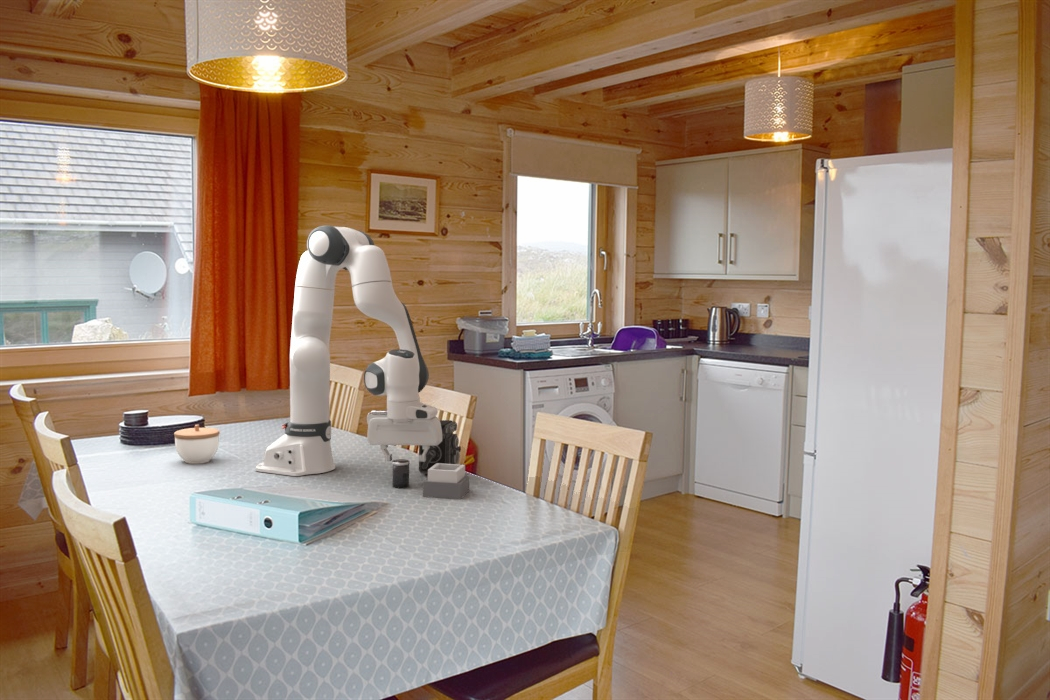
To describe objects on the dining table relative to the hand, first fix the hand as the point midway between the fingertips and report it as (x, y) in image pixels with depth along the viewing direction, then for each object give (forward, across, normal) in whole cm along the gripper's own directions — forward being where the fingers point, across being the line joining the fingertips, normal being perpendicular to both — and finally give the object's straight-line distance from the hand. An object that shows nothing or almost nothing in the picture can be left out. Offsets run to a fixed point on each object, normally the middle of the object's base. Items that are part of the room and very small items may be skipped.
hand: (405, 461), depth 216 cm
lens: (+7, -1, -1) cm, 7 cm away
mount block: (+7, +12, -5) cm, 15 cm away
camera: (+8, +5, +16) cm, 19 cm away
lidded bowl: (+5, -70, +14) cm, 72 cm away
